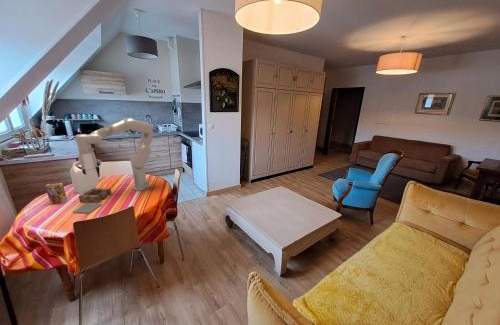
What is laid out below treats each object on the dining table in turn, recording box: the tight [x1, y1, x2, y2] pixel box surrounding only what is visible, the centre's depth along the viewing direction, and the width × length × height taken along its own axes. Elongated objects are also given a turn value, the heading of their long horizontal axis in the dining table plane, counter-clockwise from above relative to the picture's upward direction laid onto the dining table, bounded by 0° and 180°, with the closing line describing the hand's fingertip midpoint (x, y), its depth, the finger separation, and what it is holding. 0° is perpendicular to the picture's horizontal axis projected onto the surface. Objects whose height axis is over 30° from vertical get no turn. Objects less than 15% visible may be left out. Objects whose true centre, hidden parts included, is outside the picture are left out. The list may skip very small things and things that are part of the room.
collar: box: [78, 187, 113, 204], centre depth 159 cm, size 15×15×5 cm
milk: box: [69, 160, 97, 195], centre depth 168 cm, size 12×12×26 cm
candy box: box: [44, 182, 68, 205], centre depth 149 cm, size 9×4×15 cm, turn 107°
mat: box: [72, 202, 103, 215], centre depth 144 cm, size 12×12×1 cm
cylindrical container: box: [82, 153, 100, 185], centre depth 152 cm, size 7×7×25 cm
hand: (91, 172), depth 153 cm, fingers closed on cylindrical container, 7 cm apart
